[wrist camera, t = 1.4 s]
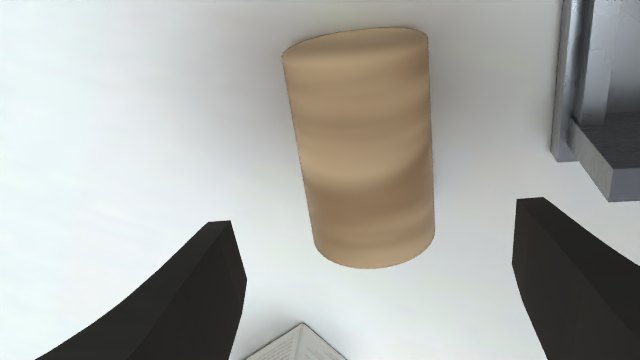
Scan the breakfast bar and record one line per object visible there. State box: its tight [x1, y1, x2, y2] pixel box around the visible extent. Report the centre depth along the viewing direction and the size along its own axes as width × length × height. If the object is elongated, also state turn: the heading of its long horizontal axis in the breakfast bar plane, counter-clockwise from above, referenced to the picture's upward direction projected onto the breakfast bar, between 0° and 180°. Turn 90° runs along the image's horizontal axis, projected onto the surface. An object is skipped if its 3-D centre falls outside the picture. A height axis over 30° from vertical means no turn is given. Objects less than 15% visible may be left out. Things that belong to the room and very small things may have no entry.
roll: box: [282, 28, 435, 269], centre depth 20 cm, size 8×5×5 cm, turn 8°
